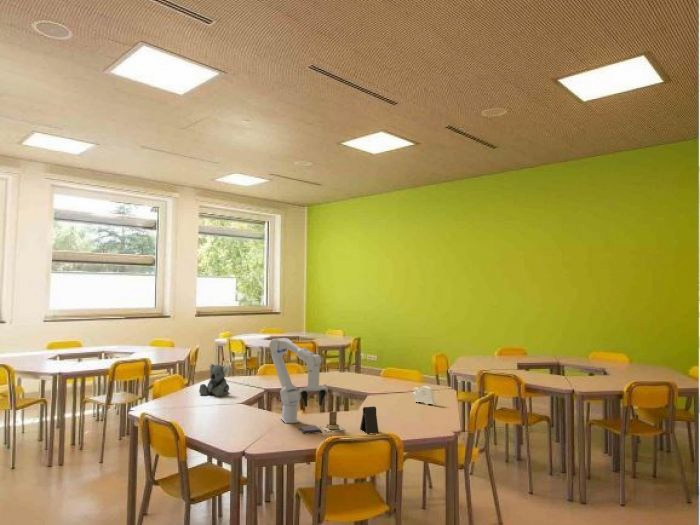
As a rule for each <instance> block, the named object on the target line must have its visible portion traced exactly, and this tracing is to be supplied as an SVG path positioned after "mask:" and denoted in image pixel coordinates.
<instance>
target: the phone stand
mask: <svg viewBox="0 0 700 525" xmlns="http://www.w3.org/2000/svg"><path fill="white" fill-rule="evenodd" d="M361 416H362V418H361V422H360V427H359V430H360V431H361V430H362V431H361V432H363V431H364V432H365V434H366V433H367V434H366V435H370V434H369V433H377V434H379V433H380V432H379V425H378V416H377V408H376V406H364V407H363V408H362V414H361ZM364 432H363V433H364Z"/></svg>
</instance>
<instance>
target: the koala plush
mask: <svg viewBox="0 0 700 525" xmlns="http://www.w3.org/2000/svg"><path fill="white" fill-rule="evenodd" d="M208 366H209V367H208V368H209V374H210V375H209V376H210V377H209V378H210V380H209V381H208V383H207V385H206V384H205V383H202V384H200V386H199V389H198V390H199V391H198V393H199V394H200V395H201V396H208V395H209V396H210V395H214V396H215V397H217V398H219V397H223V396H226V395H227V394H228V393H229V391H230V386H229V384H228V383H227V379H226V378H225V377H226V376H227V375H228V374H230V370H231V369H230V366H229V365H227V364H226V365H220V364H214V363H209V365H208Z"/></svg>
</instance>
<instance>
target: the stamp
mask: <svg viewBox="0 0 700 525" xmlns="http://www.w3.org/2000/svg"><path fill="white" fill-rule="evenodd" d="M337 413H338V412H337V411H336V410H335V411H334V410H333V411H329V414H328V415H329V417H328V418H329V421H328V422H327V423H326V426H327V428H328V429H329V430H338V429H339V426H340V425H339V424H338V423H337V420H338V418H337Z"/></svg>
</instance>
